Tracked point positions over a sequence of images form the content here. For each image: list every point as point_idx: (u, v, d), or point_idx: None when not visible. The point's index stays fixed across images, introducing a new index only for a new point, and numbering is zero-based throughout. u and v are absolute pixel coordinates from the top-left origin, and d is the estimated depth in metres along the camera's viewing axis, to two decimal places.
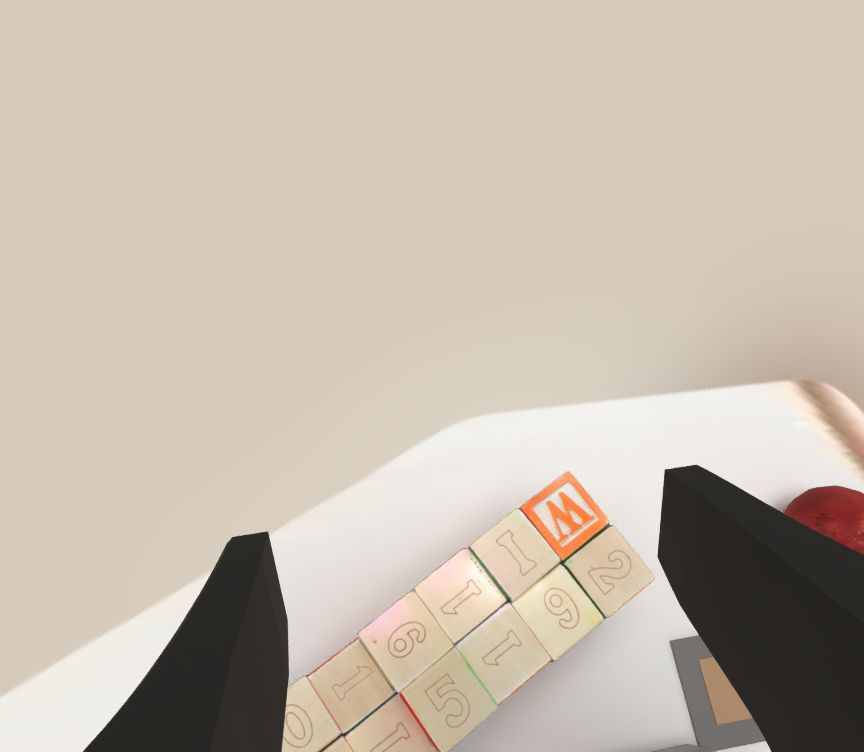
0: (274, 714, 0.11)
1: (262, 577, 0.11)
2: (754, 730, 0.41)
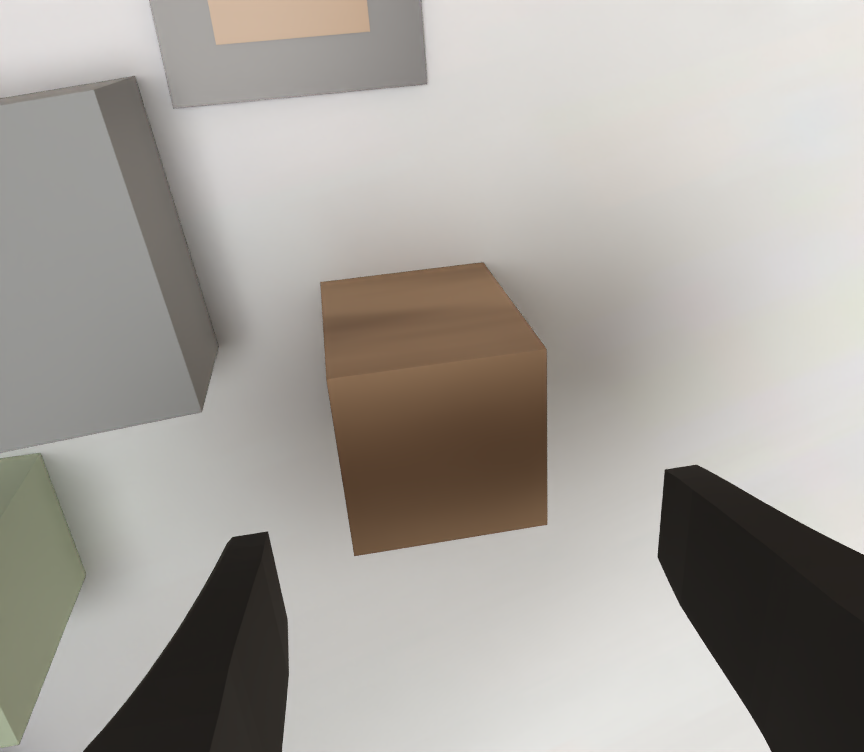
0: (274, 714, 0.11)
1: (262, 577, 0.11)
2: (312, 67, 0.17)
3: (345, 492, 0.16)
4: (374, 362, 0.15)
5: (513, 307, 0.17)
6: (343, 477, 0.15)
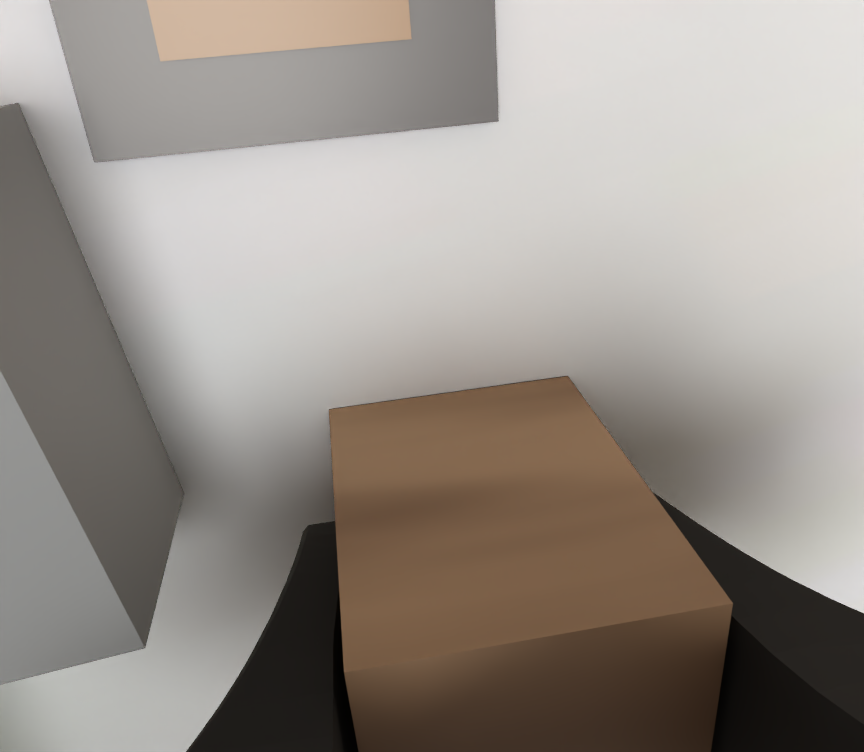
0: None
1: None
2: (318, 96, 0.11)
3: None
4: (426, 624, 0.08)
5: (642, 484, 0.11)
6: None
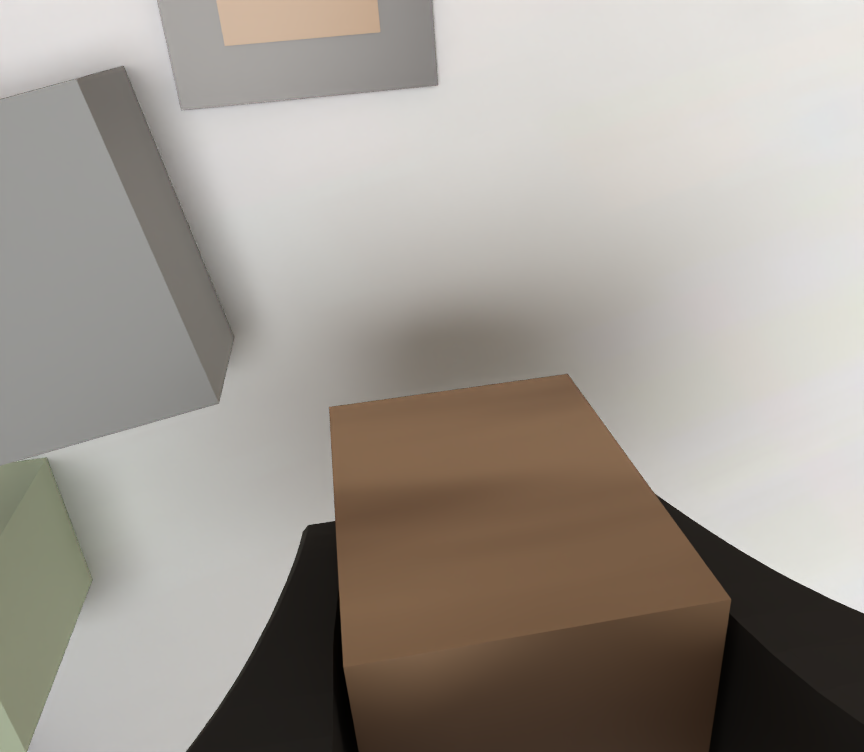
0: None
1: None
2: (322, 68, 0.17)
3: None
4: (426, 619, 0.09)
5: (641, 481, 0.11)
6: None
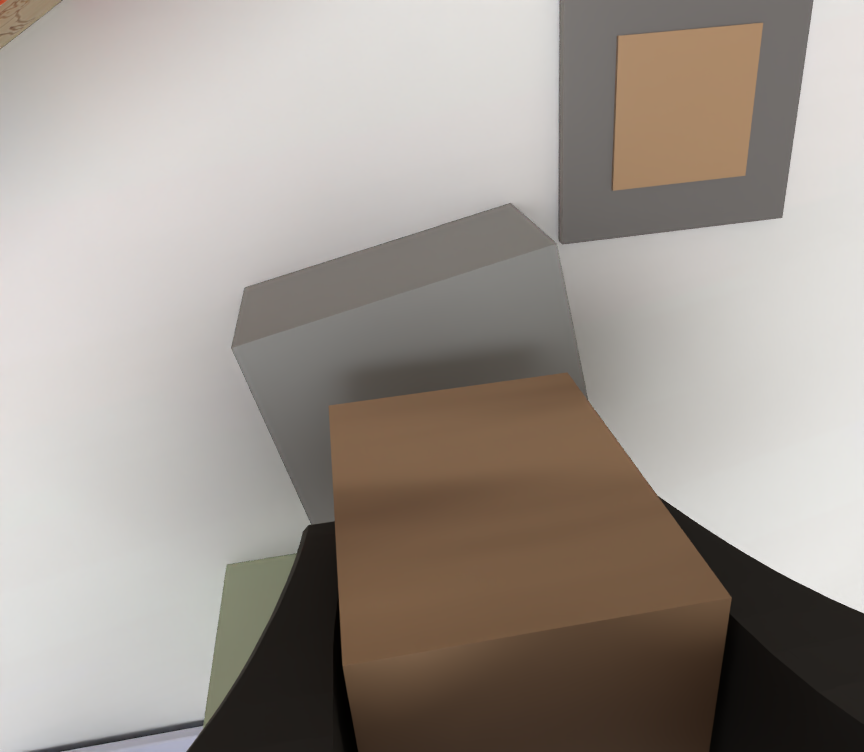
0: None
1: None
2: (688, 206, 0.19)
3: None
4: (425, 618, 0.08)
5: (641, 479, 0.11)
6: None
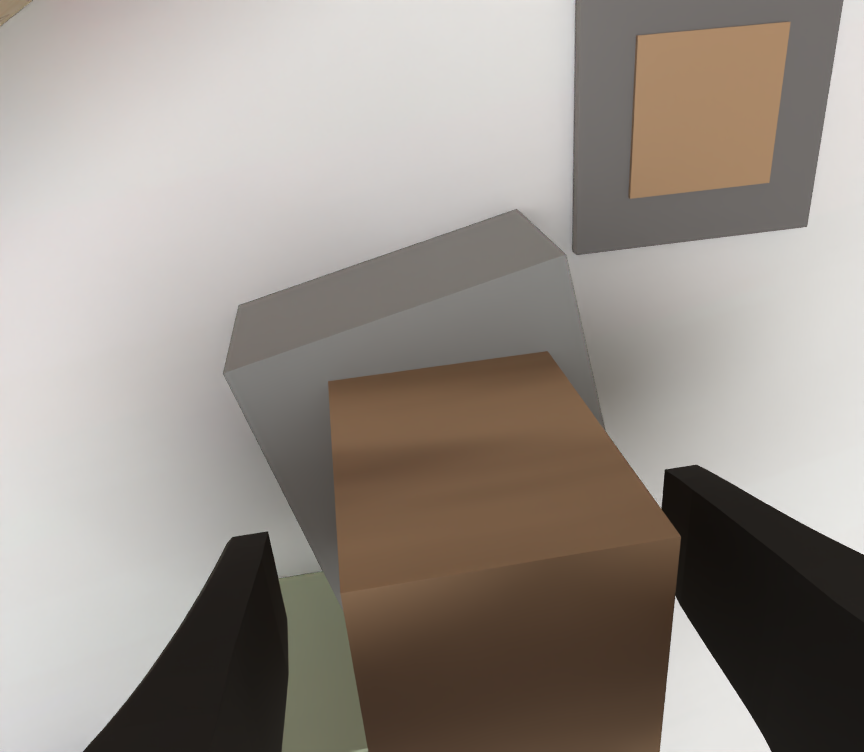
0: (274, 714, 0.11)
1: (262, 577, 0.11)
2: (708, 215, 0.18)
3: (367, 738, 0.10)
4: (413, 555, 0.10)
5: (608, 441, 0.12)
6: (364, 719, 0.10)
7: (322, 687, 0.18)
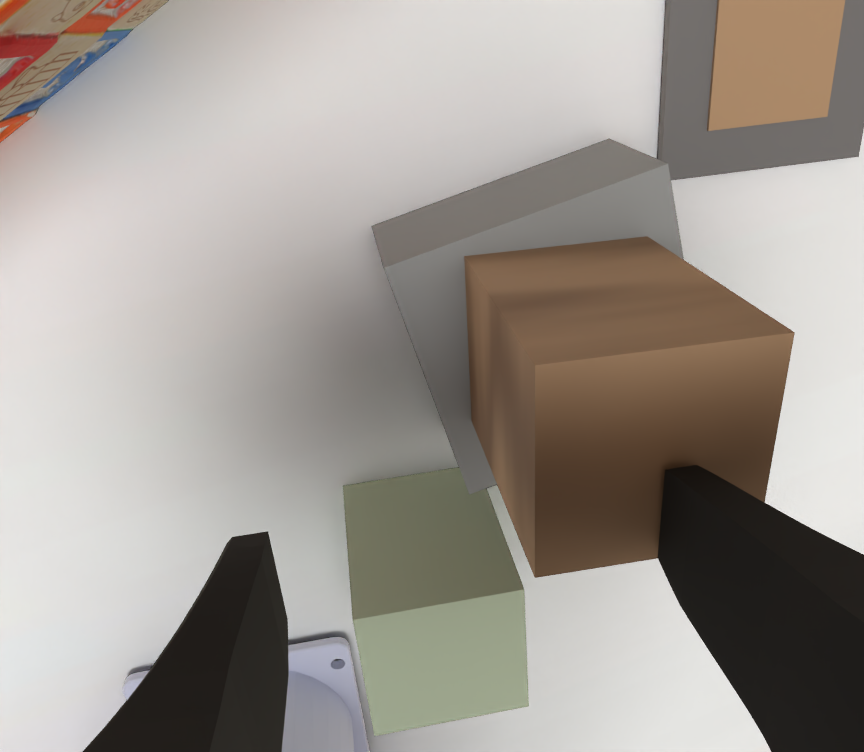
0: (274, 714, 0.11)
1: (262, 577, 0.11)
2: (774, 145, 0.21)
3: (536, 502, 0.13)
4: (584, 345, 0.12)
5: (718, 285, 0.14)
6: (536, 484, 0.13)
7: (446, 554, 0.20)
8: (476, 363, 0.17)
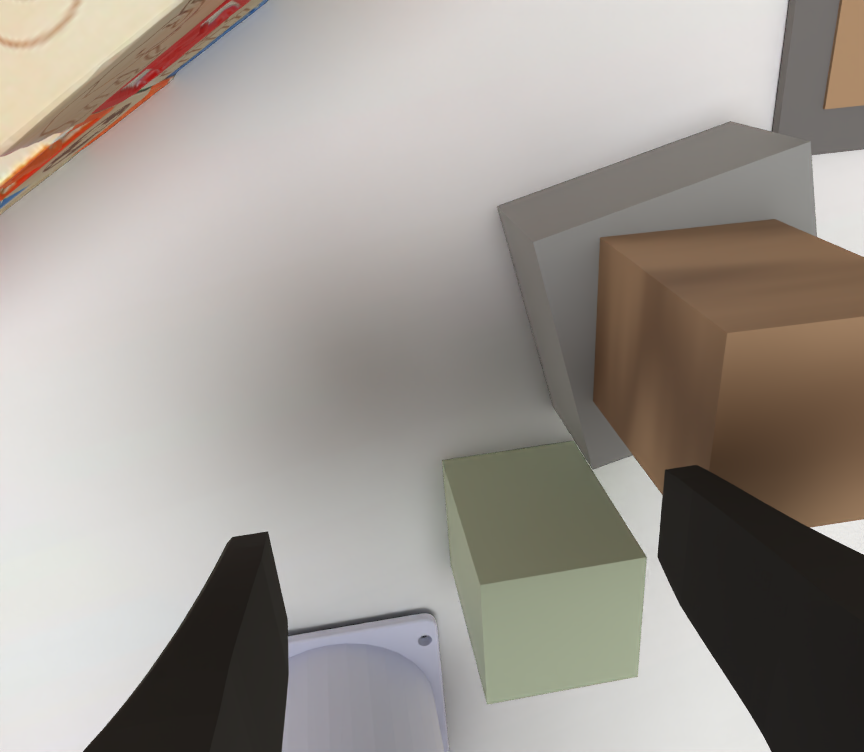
0: (274, 714, 0.11)
1: (262, 577, 0.11)
2: None
3: (710, 469, 0.13)
4: (766, 316, 0.13)
5: None
6: (712, 451, 0.13)
7: (561, 524, 0.21)
8: (610, 342, 0.18)
